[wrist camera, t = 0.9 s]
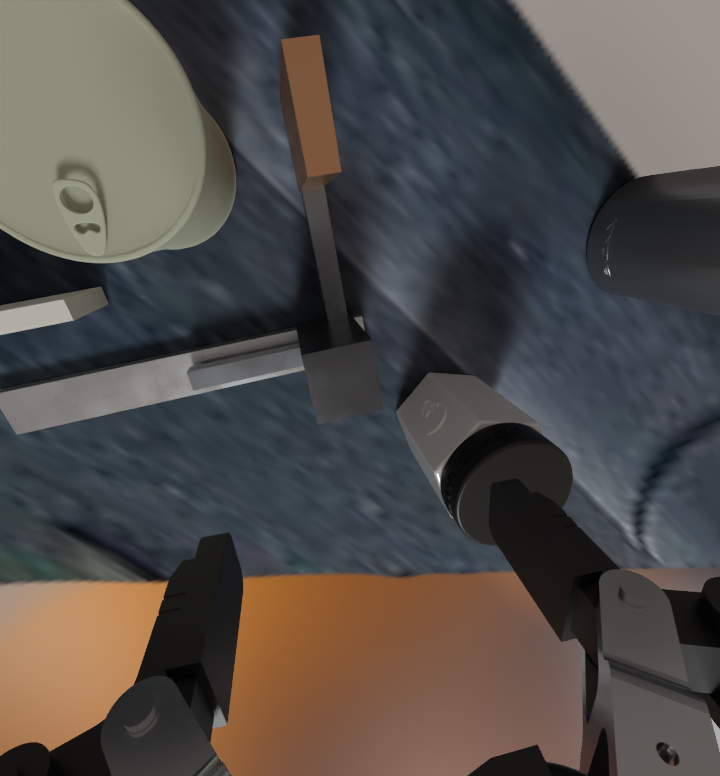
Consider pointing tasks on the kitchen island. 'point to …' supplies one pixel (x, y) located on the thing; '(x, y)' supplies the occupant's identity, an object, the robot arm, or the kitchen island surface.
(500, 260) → the kitchen island surface
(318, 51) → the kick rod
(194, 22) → the kitchen island surface
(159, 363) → the rail
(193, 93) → the can
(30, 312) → the frame
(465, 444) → the jar
